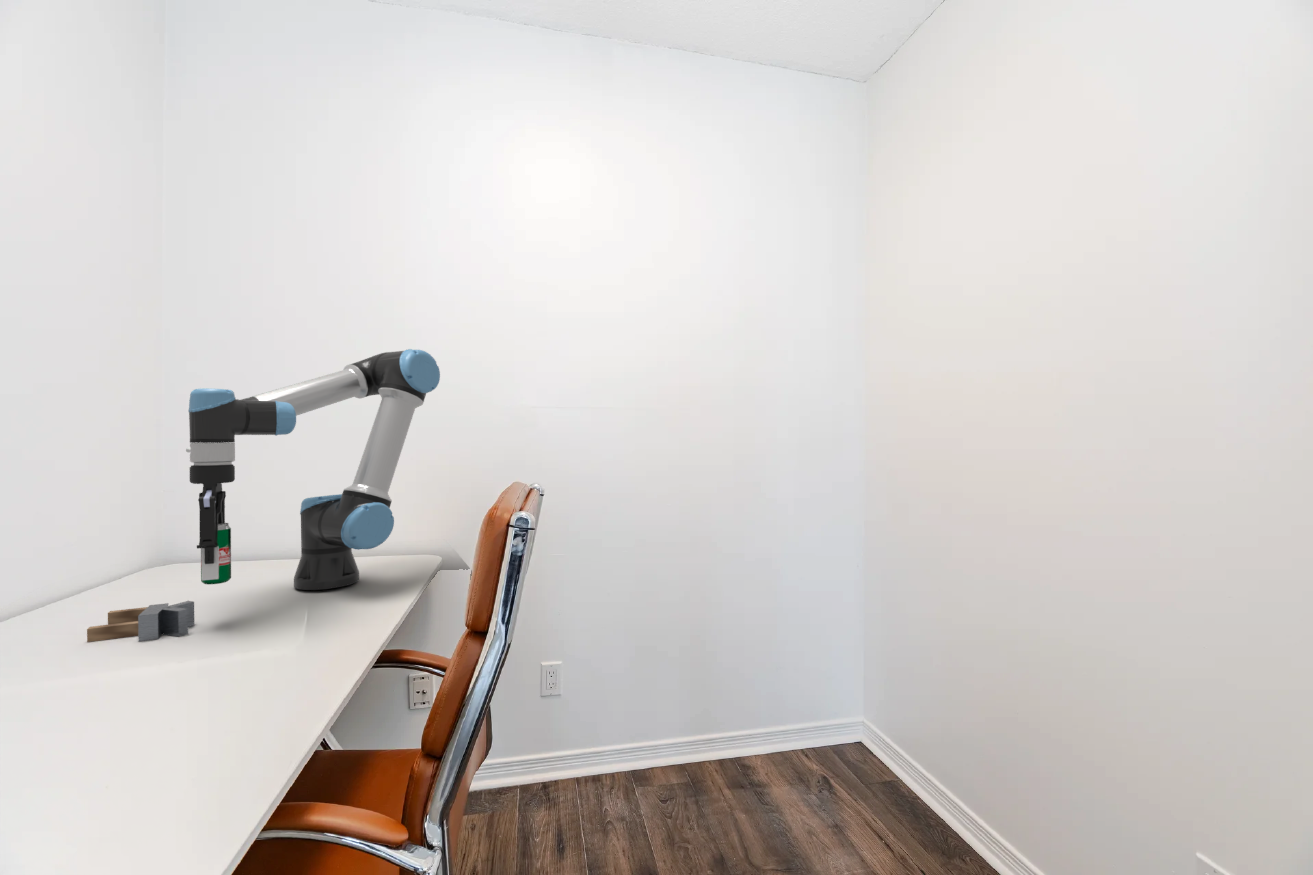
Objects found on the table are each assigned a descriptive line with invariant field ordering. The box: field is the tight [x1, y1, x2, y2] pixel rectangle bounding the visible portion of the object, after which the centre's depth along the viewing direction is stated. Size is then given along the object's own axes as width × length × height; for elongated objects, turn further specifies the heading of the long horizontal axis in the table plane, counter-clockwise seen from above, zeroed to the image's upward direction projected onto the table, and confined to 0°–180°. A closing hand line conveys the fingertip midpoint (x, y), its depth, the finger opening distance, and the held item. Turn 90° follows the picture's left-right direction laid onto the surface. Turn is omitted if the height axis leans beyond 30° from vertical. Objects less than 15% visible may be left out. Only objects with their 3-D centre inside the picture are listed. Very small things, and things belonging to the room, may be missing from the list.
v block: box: [137, 600, 195, 642], centre depth 121 cm, size 8×8×5 cm
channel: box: [86, 606, 148, 643], centre depth 124 cm, size 8×13×2 cm, turn 28°
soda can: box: [200, 522, 232, 585], centre depth 125 cm, size 5×5×12 cm
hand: (213, 576), depth 125 cm, fingers closed on soda can, 5 cm apart
